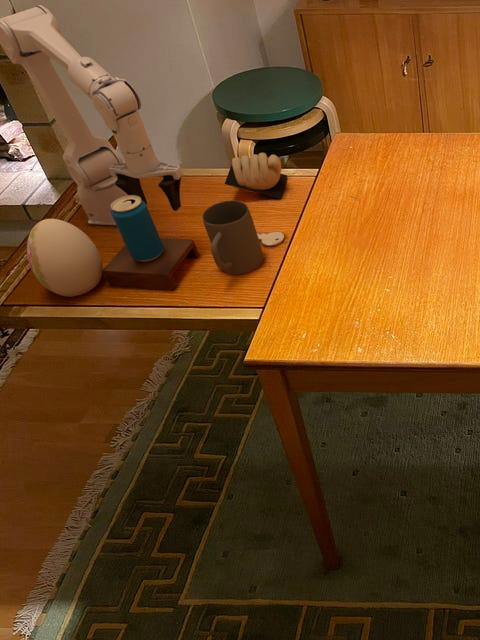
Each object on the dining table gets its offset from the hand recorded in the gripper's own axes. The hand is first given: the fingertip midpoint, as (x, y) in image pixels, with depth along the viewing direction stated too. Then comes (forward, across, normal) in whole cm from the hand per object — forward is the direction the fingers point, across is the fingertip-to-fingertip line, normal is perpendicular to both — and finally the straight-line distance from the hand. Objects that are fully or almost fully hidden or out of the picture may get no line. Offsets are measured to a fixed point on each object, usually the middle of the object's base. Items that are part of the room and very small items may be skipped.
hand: (160, 207), depth 148 cm
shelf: (+9, 0, +9) cm, 13 cm away
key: (+9, -19, -7) cm, 22 cm away
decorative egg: (+10, +14, +15) cm, 23 cm away
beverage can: (+6, 0, +9) cm, 11 cm away
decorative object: (+4, -10, -29) cm, 31 cm away
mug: (+10, -17, +7) cm, 21 cm away
